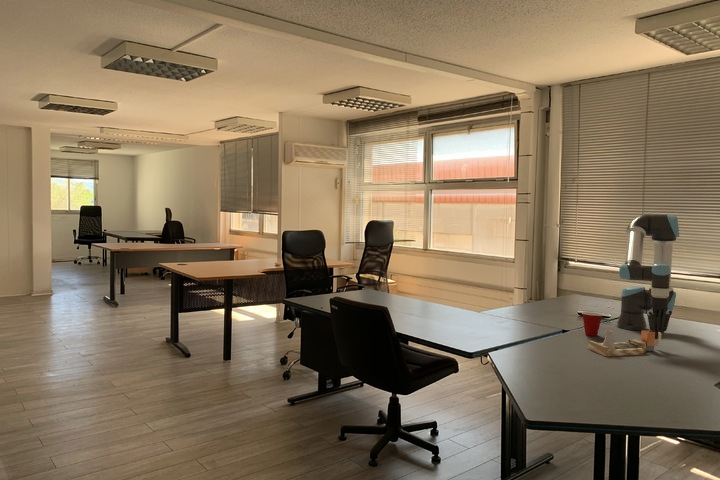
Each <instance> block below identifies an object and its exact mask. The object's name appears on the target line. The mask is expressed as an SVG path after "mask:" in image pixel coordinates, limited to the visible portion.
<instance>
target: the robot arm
mask: <svg viewBox="0 0 720 480" xmlns="http://www.w3.org/2000/svg"><path fill="white" fill-rule="evenodd" d="M625 232H626V234H625V235H626V237H627V243H626V251H625V258H624V259H625V260H624V264H620V265H619V271H618V272H619V273H618V277H619V278H620V279H621V280H628V281H643V282H651V285H650V286H649V287H648V289H646V287H645V286H640V285H639V286H627V287H623V288H622V290H621V303H620V314H619V316H618V320H617V322H616V327H617V328H620V329H624V330H630V331H642V330H648V329H649V330H650V331H653V332H655V343H654V347H655V346H656V347H662V339H663V335H664V333H665V332H666V331H668V327H669V322H670V318H671V316H672V315H673V314H672V313H673V311H674V307H675V304H676V298H677V292H676V291H674V287H672V285H671V284H672V283H671V280H672V261H673V244H674V242H676V241H677V238H679V237H680V229H679V218H678V217H677V216H676V215H674V214H642V215H639V216H636V217H635V218H634V219H633V220H632V221H631V222H630V223H629V224H628V226H627V229H626V231H625ZM646 237H651V241H652V242H653V243H654V248H653V265H642V259H643V248H644V239H646ZM644 315H647V321H648V326H647V322H646V319H645V316H644ZM647 327H649V328H648V329H647Z"/></svg>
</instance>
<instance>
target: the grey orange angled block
mask: <svg viewBox="0 0 720 480" xmlns="http://www.w3.org/2000/svg"><path fill="white" fill-rule="evenodd" d="M640 333H641V336H640V338H641V339H640V341H641V342H644V343H646V352H647V351H648V352H649V351H655V345H654V343H655V332H653V331H651V330H650V329H646V330H641V332H640ZM614 346H615V349H633V348H638V345H635V344H629V343H626V344H622V345H614Z"/></svg>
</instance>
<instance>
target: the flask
mask: <svg viewBox="0 0 720 480" xmlns="http://www.w3.org/2000/svg"><path fill="white" fill-rule="evenodd" d="M604 332H605V338H604V340H603V342H602V343H603V345H604V346H607V347H609V350H612V349H615V346H614V343H615V342H614V340H613V332H614V331H613V330H609V329H608V330H607V329H606V330H605V331H604Z"/></svg>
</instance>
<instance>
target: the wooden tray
mask: <svg viewBox="0 0 720 480" xmlns="http://www.w3.org/2000/svg"><path fill="white" fill-rule="evenodd" d="M613 343H614V345H622V344H627V342H625V341H624V342H613ZM628 344H635V345H638V348H633V349H612V350H609V347H607V346H604V345H603V342H601V343H598V342H596V341H593V340H588V344H587V345H588V346H587V348H588V350H589V351H592V352H595V353H597V354H599V355H601V356H605V357H613V356H615V357H616V356H635V355H643V354H644V353H646V352H647V351H646V343H644V342H641V340H638V339H635V338H630V339H628Z"/></svg>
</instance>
